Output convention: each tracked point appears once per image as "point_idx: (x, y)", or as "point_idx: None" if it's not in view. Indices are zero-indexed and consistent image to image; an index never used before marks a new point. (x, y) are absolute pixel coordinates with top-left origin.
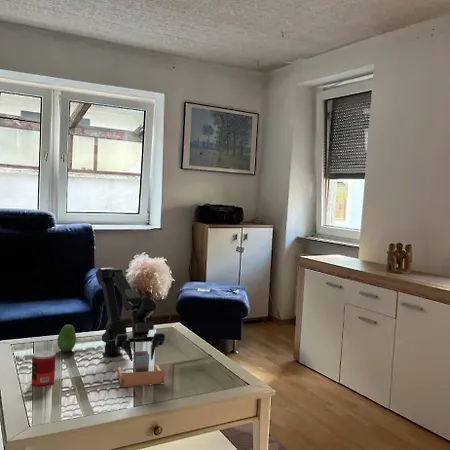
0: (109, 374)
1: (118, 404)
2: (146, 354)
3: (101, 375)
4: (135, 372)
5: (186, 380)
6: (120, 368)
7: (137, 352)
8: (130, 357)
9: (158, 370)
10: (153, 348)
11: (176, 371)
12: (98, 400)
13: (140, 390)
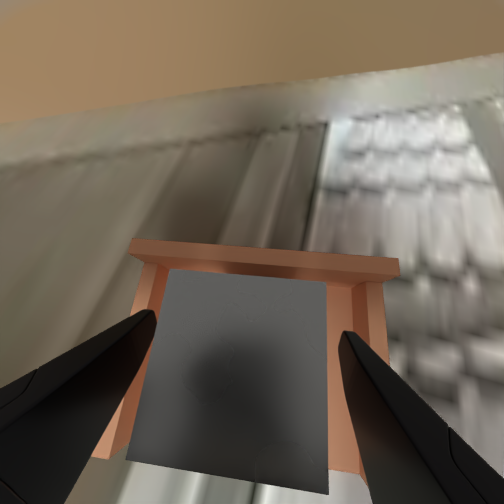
0: None
1: (380, 142)
2: (191, 301)
3: None
4: (306, 262)
5: (55, 275)
6: None
7: (284, 423)
8: (373, 357)
9: None
10: (15, 397)
11: None
12: (458, 182)
13: (281, 226)
